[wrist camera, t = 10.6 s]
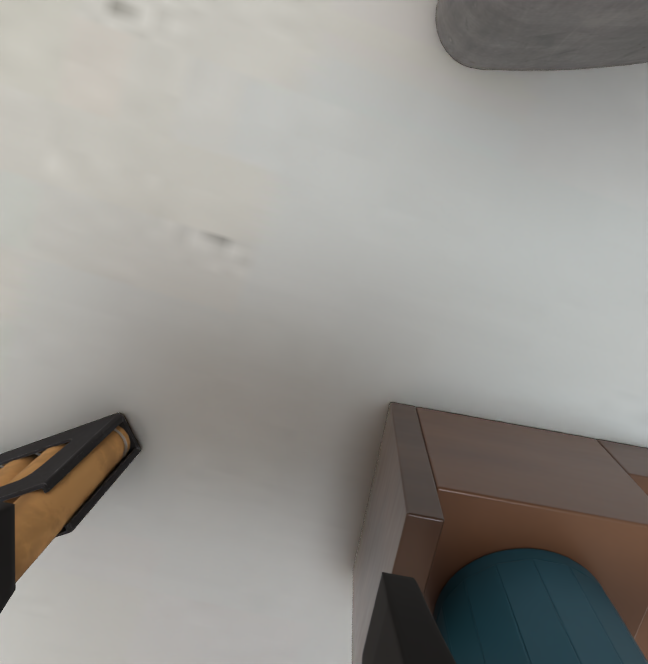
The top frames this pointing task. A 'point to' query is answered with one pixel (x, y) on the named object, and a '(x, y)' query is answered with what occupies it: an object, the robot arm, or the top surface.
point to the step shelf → (500, 508)
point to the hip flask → (544, 33)
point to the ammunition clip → (62, 481)
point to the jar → (531, 613)
